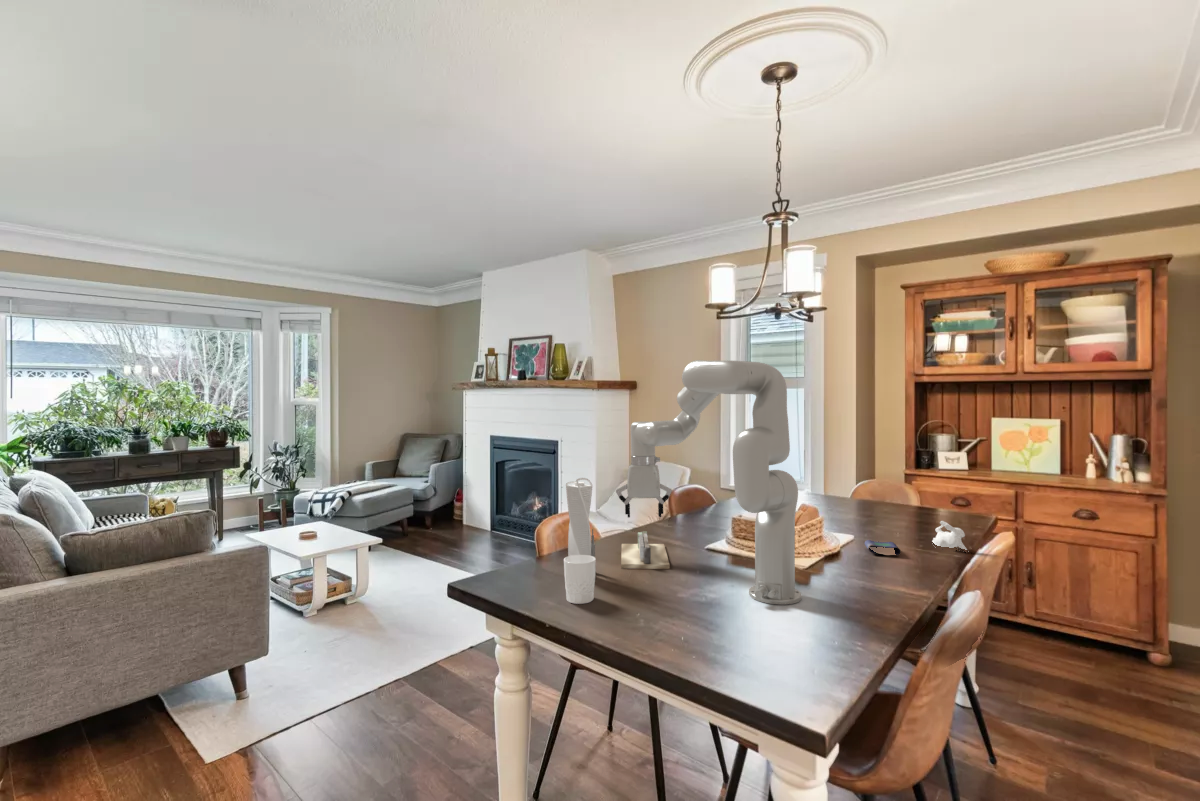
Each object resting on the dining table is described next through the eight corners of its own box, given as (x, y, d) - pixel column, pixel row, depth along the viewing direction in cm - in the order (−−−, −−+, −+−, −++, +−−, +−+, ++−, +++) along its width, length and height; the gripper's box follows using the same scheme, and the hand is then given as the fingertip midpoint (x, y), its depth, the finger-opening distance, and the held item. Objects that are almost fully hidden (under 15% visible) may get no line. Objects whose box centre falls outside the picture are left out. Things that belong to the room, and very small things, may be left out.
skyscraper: (595, 582, 156) (594, 478, 156) (565, 582, 156) (564, 478, 156) (596, 573, 164) (595, 474, 164) (567, 573, 164) (567, 474, 164)
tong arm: (642, 546, 188) (642, 532, 188) (644, 561, 170) (644, 546, 170) (637, 546, 188) (637, 532, 188) (639, 561, 170) (639, 546, 170)
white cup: (597, 594, 146) (597, 555, 146) (594, 605, 138) (593, 563, 138) (566, 593, 147) (566, 554, 147) (561, 604, 139) (561, 563, 139)
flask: (868, 544, 180) (863, 538, 190) (868, 554, 180) (863, 547, 190) (901, 547, 178) (894, 540, 188) (901, 557, 177) (894, 550, 188)
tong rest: (663, 548, 191) (663, 530, 191) (669, 569, 167) (669, 549, 167) (621, 548, 191) (621, 530, 191) (621, 569, 167) (621, 548, 167)
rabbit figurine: (973, 554, 182) (973, 523, 182) (957, 556, 179) (957, 525, 179) (939, 545, 193) (938, 516, 193) (922, 547, 190) (922, 518, 190)
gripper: (670, 459, 182) (671, 514, 182) (615, 460, 183) (616, 514, 183) (672, 462, 175) (673, 518, 175) (615, 462, 176) (616, 519, 175)
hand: (644, 516), depth 179 cm, fingers open, 9 cm apart
